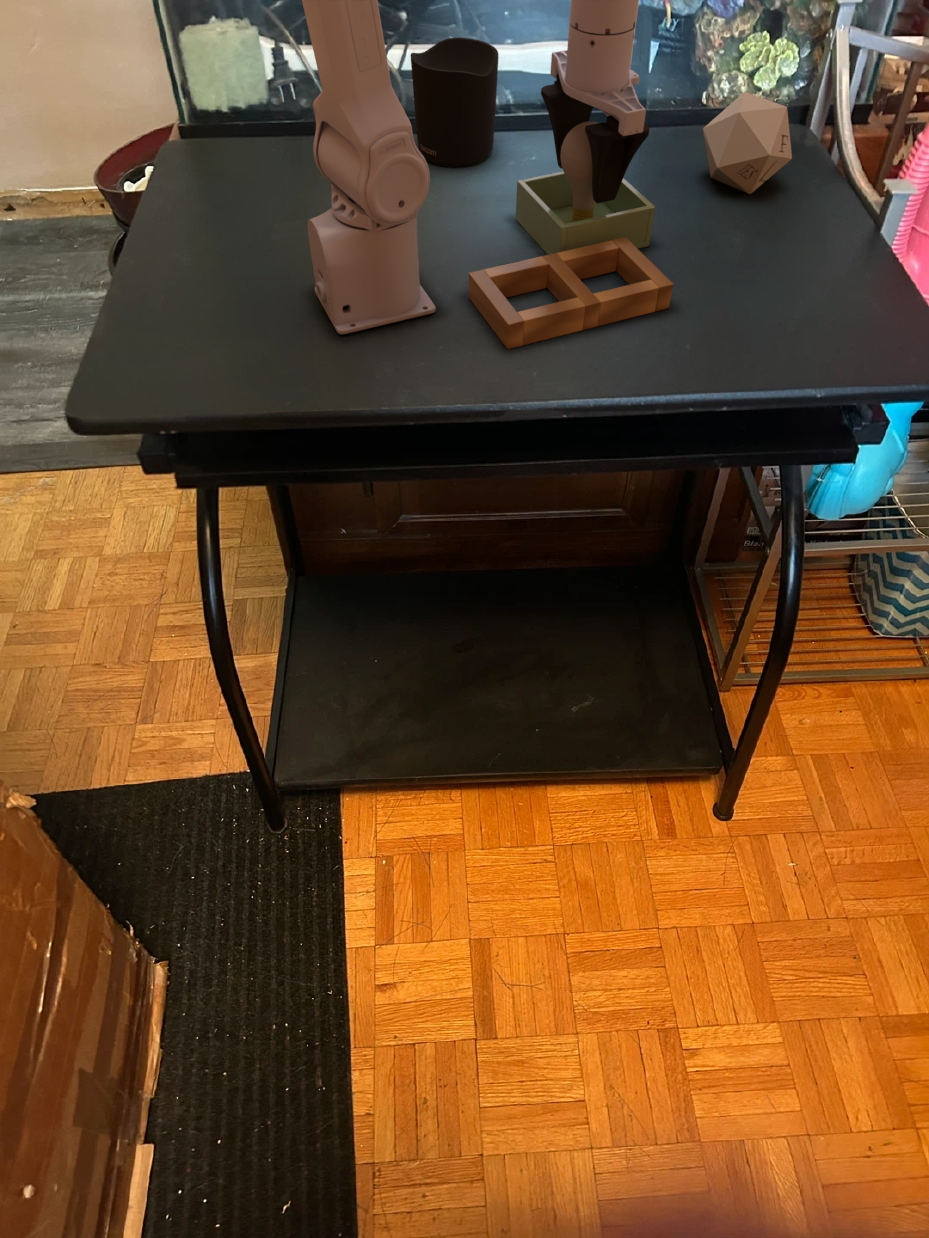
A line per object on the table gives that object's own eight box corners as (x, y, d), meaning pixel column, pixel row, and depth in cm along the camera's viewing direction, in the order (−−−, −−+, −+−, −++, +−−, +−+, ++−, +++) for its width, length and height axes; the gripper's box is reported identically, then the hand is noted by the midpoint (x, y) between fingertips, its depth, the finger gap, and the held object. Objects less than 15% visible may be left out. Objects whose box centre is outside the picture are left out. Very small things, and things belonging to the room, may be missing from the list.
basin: (558, 267, 86) (561, 228, 83) (515, 219, 92) (516, 180, 89) (649, 246, 89) (655, 207, 86) (601, 200, 95) (606, 162, 91)
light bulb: (619, 230, 90) (633, 127, 82) (577, 246, 88) (588, 142, 80) (585, 208, 92) (596, 106, 85) (544, 224, 91) (551, 120, 83)
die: (710, 211, 94) (789, 140, 87) (671, 140, 95) (747, 64, 88) (747, 213, 100) (825, 147, 93) (710, 146, 101) (784, 75, 93)
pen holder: (412, 135, 104) (407, 39, 97) (490, 131, 105) (492, 35, 97) (418, 172, 99) (414, 74, 91) (501, 167, 99) (504, 69, 91)
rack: (507, 349, 78) (508, 324, 76) (468, 297, 83) (468, 272, 81) (669, 308, 82) (673, 284, 80) (622, 261, 87) (625, 236, 85)
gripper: (687, 46, 73) (658, 208, 83) (604, -10, 81) (588, 144, 92) (611, 59, 71) (592, 223, 82) (534, 1, 79) (526, 156, 90)
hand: (585, 182), depth 86 cm, fingers open, 7 cm apart
